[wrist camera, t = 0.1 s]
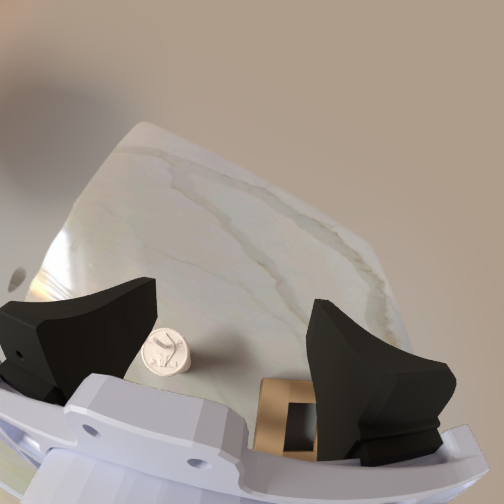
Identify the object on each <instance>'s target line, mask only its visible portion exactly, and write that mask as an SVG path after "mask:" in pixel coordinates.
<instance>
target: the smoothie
mask: <svg viewBox="0 0 504 504" xmlns="http://www.w3.org/2000/svg"><path fill="white" fill-rule="evenodd" d="M141 352H142V358H143V361H144V363H145V365H146V366H147V367H148V368H149V369H150V370H151V371H152V372H154V373H155V374H157V375H160V376H164V377H170V376H174V375H177V374H178V373H183V372H186V371H187V370H188V369H189V368H190V366H191V358H190V348H189V345H188V342H187V341H186V339H185V338H184V337H183V336H182V335H181V334H180V333H178V332H177V331H175V330H173V329H169V328H160V329H157V330H154V331H153V332H151V333H150V335H149V336H148V338H147V339H146V341H145V343H144V344H143V346H142V350H141Z"/></svg>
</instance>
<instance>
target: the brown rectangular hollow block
mask: <svg viewBox="0 0 504 504" xmlns="http://www.w3.org/2000/svg"><path fill="white" fill-rule="evenodd" d="M289 402H295V403H316V399H315V392H314V387H313V382H312V381H300V380H284V379H272V378H263V379H262V380H261V386H260V395H259V403H258V411H257V420H256V428H255V436H254V443H253V450H256V451H260V452H264V453H268V454H273V455H278V456H282V457H287V458H293V459H298V460H304V461H311V462H317V422H316V432H315V440H314V448H313V451H283V447H284V439H285V431H286V422H287V413H288V404H289Z"/></svg>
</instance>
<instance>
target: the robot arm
mask: <svg viewBox="0 0 504 504" xmlns="http://www.w3.org/2000/svg"><path fill="white" fill-rule="evenodd" d="M157 317H158V315H157V299H156V279H154V278H148V277H141V278H137V279H134V280H131V281H128V282H125V283H123V284H120V285H117V286H115V287H112V288H109V289H106V290H103V291H100V292H97V293H94V294H91V295H87V296H83V297H79V298H74V299H68V300H61V301H54V302H18V301H10V302H8V303H6V304H5V305H4V306H2V307H1V308H0V345H1V348H2V350H3V352H4V354H5V357H6V360H5V361H4V362H3V363H2V362H1V361H0V439H1V440H2V441H3V442H4V443H5V444H7V445H8V446H9V447H10V448H11V449H12V450H14V451H15V452H16V453H17V454H18V455H20V456H21V457H22V458H23V459H25V460H26V461H27V462H28V463H30V464H31V465H32V466H34V467H35V468H36V469H38V471H37V472H36V474H35V476H34V478H33V479H32V481H31V483H30V485H29V487H28V488H27V490H26V492H25V494H24V496H23V498H22V499H21V501H20V503H19V504H446V503H448V502H450V501H451V500H453V499H454V498H456V497H457V496H458V495H460V494H461V493H462V492H464V491H465V490H467V489H468V488H469V487H470V486H472V485H473V484H474V483H475V482H477V481H478V480H479V479H480V478H481V477H483V476H484V475H485V474H486V473H487V472H488V471H489V469H490V468H489V466H488V464H487V461H486V459H485V457H484V455H483V453H482V451H481V449H480V447H479V445H478V443H477V441H476V439H475V437H474V435H473V433H472V431H471V430H470V428H469V426H468V424H464V425H461V426H458V427H455V428H451V429H449V430H446V431H444V432H443V433H441V434H439V432H438V430H437V428H438V427H439V426H440V421H439V419H438V415H439V414H440V413H441V411H442V410H443V409H444V407H445V406H446V404H447V403H448V401H449V400H450V398H451V397H452V395H453V393H454V391H455V387H456V378H455V376H454V375H453V373H452V372H451V370H450V369H449V367H448V366H447V364H445V363H441V362H437V361H433V360H428V359H424V358H421V357H418V356H415V355H412V354H410V353H407V352H405V351H402V350H400V349H398V348H396V347H393V346H391V345H389V344H387V343H385V342H384V341H382V340H380V339H379V338H377V337H375V336H374V335H372V334H370V333H369V332H368V331H366V330H365V329H363V328H362V327H361V326H359V325H358V324H357V323H355V322H354V321H353V320H352V319H351V318H349V317H348V316H347V315H346V314H345V313H343V312H342V311H341V310H340V309H339V308H338V307H337V306H335V305H334V304H333V303H332V302H330V301H329V300H322V299H315V300H314V305H313V309H312V314H311V318H310V322H309V326H308V330H307V334H306V348H307V357H308V362H309V367H310V372H311V377H312V382H313V387H314V392H315V399H316V413H317V462H311V461H304V460H298V459H293V458H287V457H282V456H278V455H273V454H268V453H264V452H260V451H256V450H252V449H248V448H247V445H248V435H249V430H248V427H247V424H246V421H245V419H244V418H243V417H241V416H240V415H239V414H237V413H236V412H235V411H233V410H232V409H231V408H229V407H228V406H226V405H223V404H220V403H217V402H214V401H211V400H207V399H204V398H198V397H193V396H188V395H183V394H178V393H174V392H169V391H165V390H161V389H157V388H153V387H149V386H145V385H141V384H138V383H134V382H131V381H127V380H124V379H123V378H124V376H125V374H126V372H127V370H128V368H129V366H130V364H131V363H132V361H133V360H134V358H135V357H136V355H137V353H138V352H139V350H140V349H141V347H142V346H143V344H144V343H145V341H146V339H147V338H148V336H149V335H150V333H151V331H152V329H153V327H154V324H155V322H156V320H157Z"/></svg>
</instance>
